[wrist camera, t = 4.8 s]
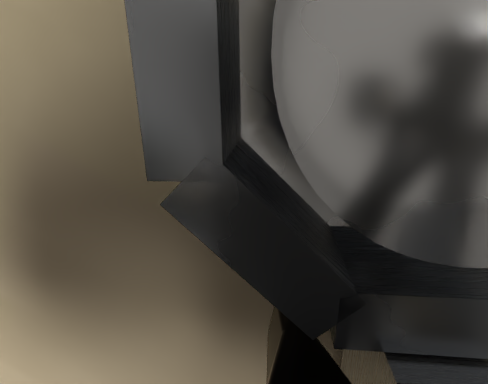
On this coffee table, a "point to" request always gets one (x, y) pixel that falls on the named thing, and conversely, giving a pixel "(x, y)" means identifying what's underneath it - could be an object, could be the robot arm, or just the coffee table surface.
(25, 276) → the coffee table surface
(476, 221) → the grey metal bowl
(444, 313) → the grey octagonal frying pan
